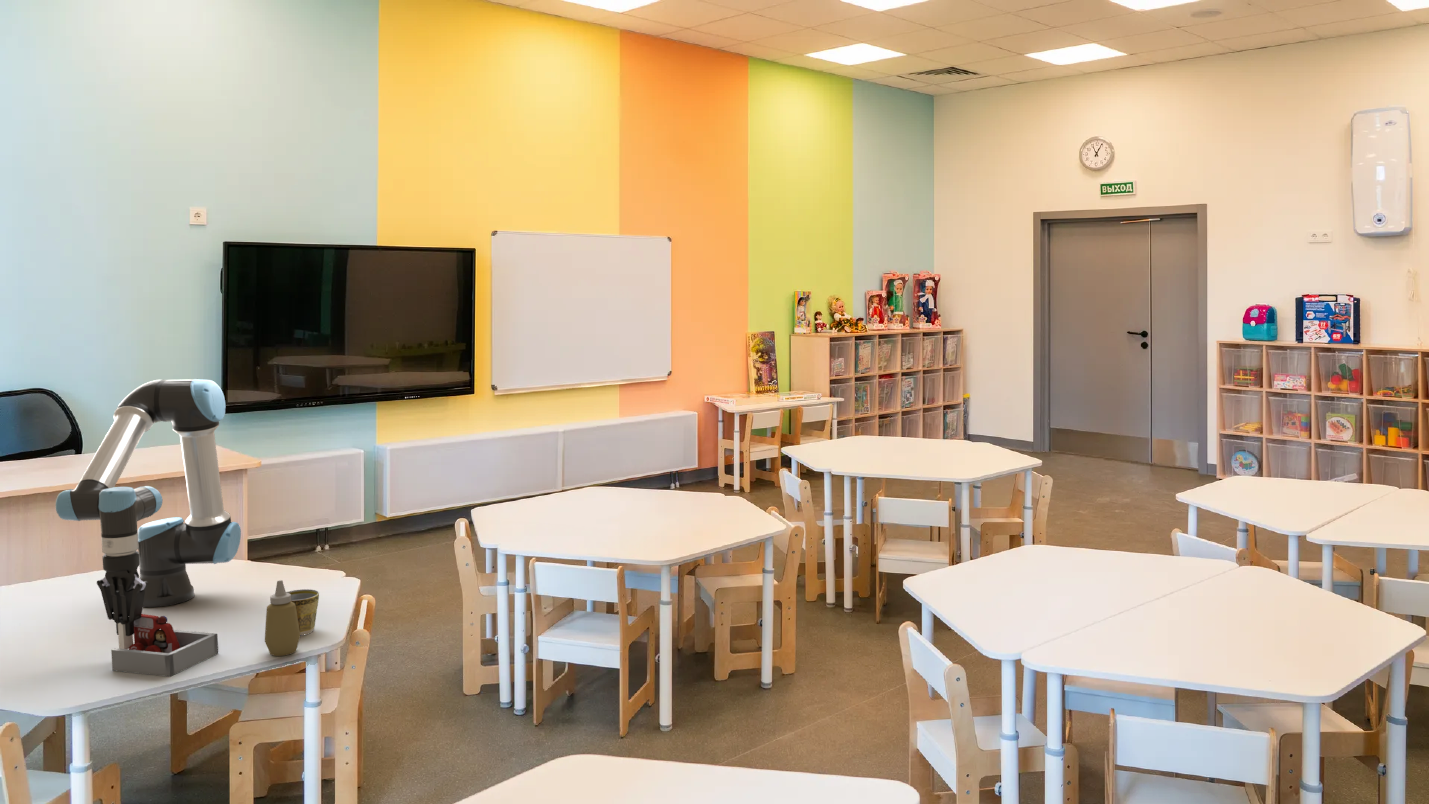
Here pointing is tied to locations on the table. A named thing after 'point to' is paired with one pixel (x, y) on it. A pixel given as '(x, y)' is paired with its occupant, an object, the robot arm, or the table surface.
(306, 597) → the ceramic cup
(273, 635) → the squeeze bottle
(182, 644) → the box
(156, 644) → the toy fire truck
